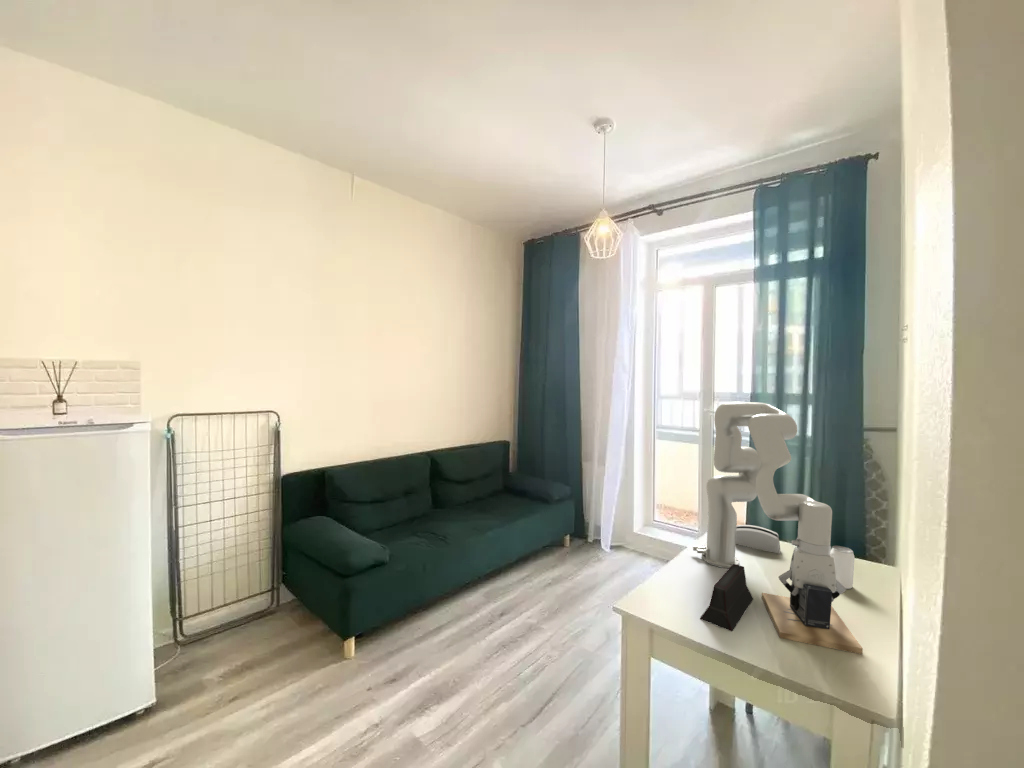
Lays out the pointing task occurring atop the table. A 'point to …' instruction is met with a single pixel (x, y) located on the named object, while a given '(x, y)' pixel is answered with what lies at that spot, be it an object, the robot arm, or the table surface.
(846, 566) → the can
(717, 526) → the robot arm
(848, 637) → the board
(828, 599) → the small box
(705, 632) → the table surface
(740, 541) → the white arched block
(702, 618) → the barrier
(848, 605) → the table surface
